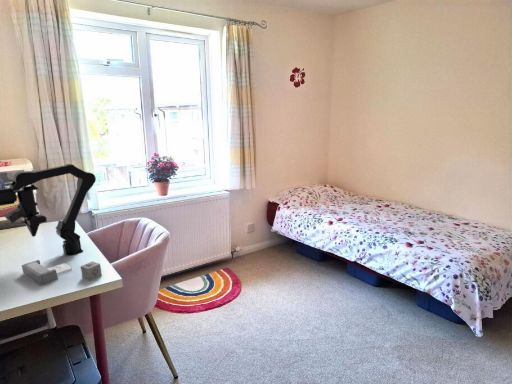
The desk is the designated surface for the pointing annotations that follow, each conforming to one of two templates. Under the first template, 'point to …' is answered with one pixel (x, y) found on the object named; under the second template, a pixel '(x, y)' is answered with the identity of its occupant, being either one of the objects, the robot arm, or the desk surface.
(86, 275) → the dice cube
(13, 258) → the desk surface
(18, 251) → the desk surface
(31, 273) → the dock
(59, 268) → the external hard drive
